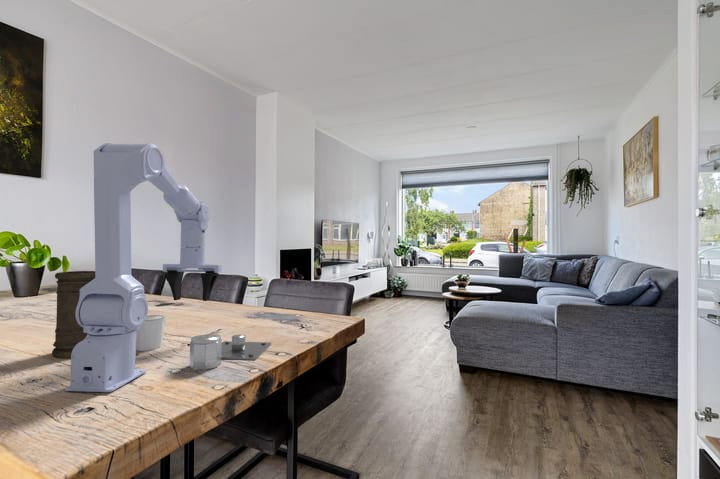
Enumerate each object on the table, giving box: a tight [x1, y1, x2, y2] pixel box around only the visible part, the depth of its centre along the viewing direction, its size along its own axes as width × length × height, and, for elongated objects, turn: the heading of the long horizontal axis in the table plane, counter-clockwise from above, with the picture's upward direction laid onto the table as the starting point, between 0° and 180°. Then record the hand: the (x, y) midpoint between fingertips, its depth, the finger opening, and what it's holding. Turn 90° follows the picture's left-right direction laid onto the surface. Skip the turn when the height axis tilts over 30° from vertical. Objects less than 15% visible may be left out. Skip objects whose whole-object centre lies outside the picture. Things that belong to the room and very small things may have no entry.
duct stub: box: [221, 333, 272, 361], centre depth 83 cm, size 12×12×3 cm
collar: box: [189, 333, 223, 371], centre depth 73 cm, size 6×6×6 cm
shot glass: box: [136, 314, 166, 352], centre depth 84 cm, size 7×7×7 cm
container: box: [51, 270, 95, 359], centre depth 80 cm, size 9×9×18 cm
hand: (191, 300), depth 92 cm, fingers open, 7 cm apart
